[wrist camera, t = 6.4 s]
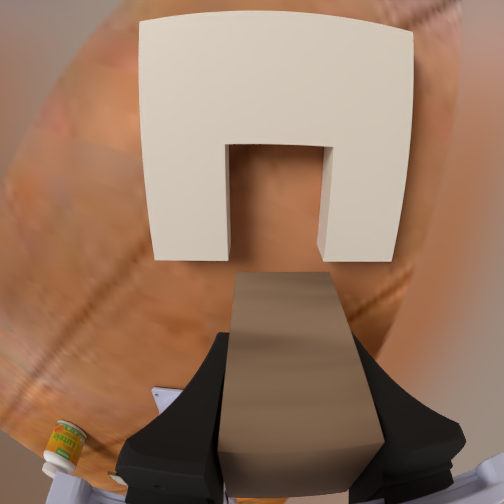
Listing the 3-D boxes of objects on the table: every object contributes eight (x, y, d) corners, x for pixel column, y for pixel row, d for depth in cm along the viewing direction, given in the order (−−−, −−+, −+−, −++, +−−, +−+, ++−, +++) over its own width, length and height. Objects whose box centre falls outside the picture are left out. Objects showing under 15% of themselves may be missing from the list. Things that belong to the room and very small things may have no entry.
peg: (318, 340, 17) (346, 491, 9) (238, 340, 17) (227, 496, 9) (329, 272, 15) (384, 442, 7) (236, 271, 15) (217, 451, 7)
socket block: (379, 245, 22) (391, 261, 19) (164, 243, 22) (154, 260, 20) (396, 38, 15) (412, 32, 13) (153, 30, 15) (139, 21, 13)
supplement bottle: (84, 427, 36) (65, 478, 27) (89, 441, 38) (73, 488, 30) (54, 414, 35) (33, 463, 27) (61, 429, 38) (43, 474, 29)
